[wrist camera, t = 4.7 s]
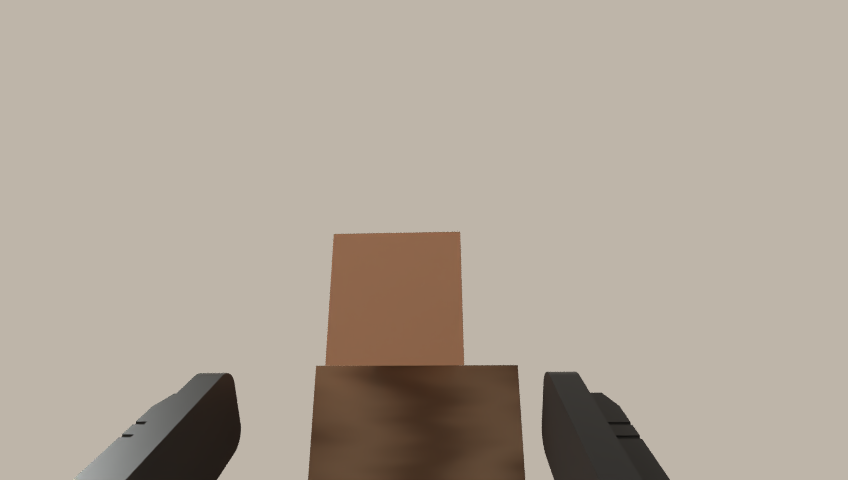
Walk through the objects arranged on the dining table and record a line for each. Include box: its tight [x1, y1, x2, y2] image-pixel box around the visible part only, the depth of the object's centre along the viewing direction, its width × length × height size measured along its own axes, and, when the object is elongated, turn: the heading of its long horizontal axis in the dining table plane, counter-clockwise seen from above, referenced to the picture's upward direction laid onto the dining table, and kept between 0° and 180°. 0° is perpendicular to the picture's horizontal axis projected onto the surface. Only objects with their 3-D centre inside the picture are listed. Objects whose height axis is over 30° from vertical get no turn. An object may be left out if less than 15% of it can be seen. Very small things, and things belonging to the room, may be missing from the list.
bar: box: [326, 232, 464, 366], centre depth 24 cm, size 4×25×4 cm, turn 177°
